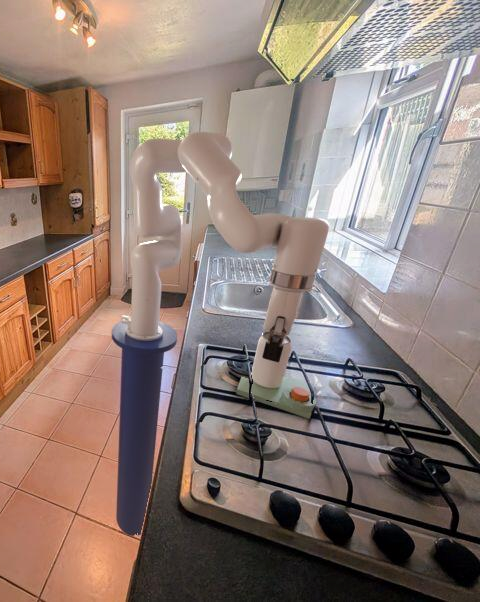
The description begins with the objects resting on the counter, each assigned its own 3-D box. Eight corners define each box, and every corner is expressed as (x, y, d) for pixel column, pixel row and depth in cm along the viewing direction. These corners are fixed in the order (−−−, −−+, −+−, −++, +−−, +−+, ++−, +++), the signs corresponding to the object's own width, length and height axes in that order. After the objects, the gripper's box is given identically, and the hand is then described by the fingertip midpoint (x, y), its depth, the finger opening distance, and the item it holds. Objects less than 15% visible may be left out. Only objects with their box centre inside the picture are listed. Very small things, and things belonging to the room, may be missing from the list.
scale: (235, 395, 70) (237, 384, 69) (245, 369, 79) (247, 359, 78) (312, 421, 62) (316, 409, 61) (313, 389, 71) (316, 378, 70)
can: (284, 380, 72) (297, 336, 68) (276, 393, 68) (289, 347, 63) (255, 369, 76) (265, 327, 72) (246, 381, 72) (255, 337, 68)
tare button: (290, 399, 64) (291, 392, 64) (291, 391, 67) (292, 385, 66) (307, 404, 63) (309, 397, 62) (307, 396, 65) (309, 390, 64)
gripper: (274, 266, 71) (259, 331, 77) (265, 287, 58) (248, 362, 65) (314, 271, 67) (294, 339, 73) (313, 295, 54) (289, 374, 60)
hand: (273, 349), depth 69 cm, fingers open, 9 cm apart
